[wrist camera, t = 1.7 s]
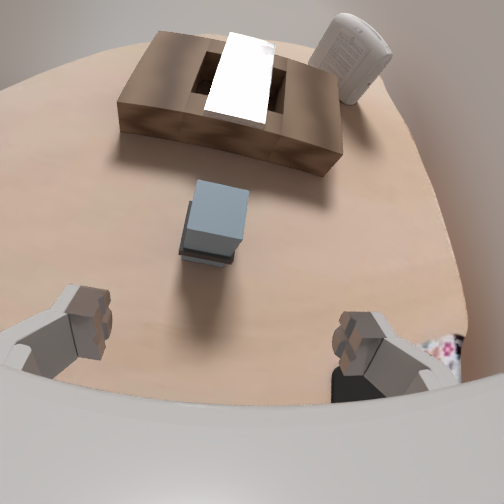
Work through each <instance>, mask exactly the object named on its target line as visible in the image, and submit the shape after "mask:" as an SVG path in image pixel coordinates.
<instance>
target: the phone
mask: <svg viewBox="0 0 504 504" xmlns="http://www.w3.org/2000/svg"><path fill="white" fill-rule="evenodd" d="M429 355H430V354H429ZM380 398H387V397H386V396H385V395H384V394H383V393H382V392H380V391H379V390H378V389H377V388H376V387H375V386H374V385H373V384H372V383H371V382H370V381H369V380H367V379H366V378H365V377H364V375H355V376H344V375H343V373H342V370H341V368H340V366H339V367H337V368H335V370H334V371H333V373H332V386H331V403H343V402H354V401H364V400H372V399H380Z"/></svg>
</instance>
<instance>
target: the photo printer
mask: <svg viewBox="0 0 504 504" xmlns="http://www.w3.org/2000/svg"><path fill="white" fill-rule="evenodd" d="M391 59H392V52H391V50H390V48H389V47H388V45H387V44H386V42H385V41H384V40H383V38H382V37H381V36H380V35H379V34H378V33H377V32H376V31H375V30H374V29H373V28H372V27H371V26H370V25H369V24H367V23H366V22H365V21H363V20H361V19H360V18H358V17H356V16H354V15H351V14H348V13H340V14H339V15H337V16H336V17H335V18H334V19H333V21H332V22H331V24H330V25H329V27H328V29H327V31H326V32H325V34H324V36H323V37H322V39H321V41H320V42H319V44H318V46H317V48H316V49H315V51H314V53H313V54H312V56H311V58H310V60H309V62H308V65H309V66H312V67H315V68H318V69H320V70H323V71H326V72H328V73H331V74H334V75H336V76H337V83H338V92H339V99H340V100H341V101H342V102H343V103H345V104H347V105H354V104H355V103H356V102H357V101H358V100H359V98H360V97H361V96H362V95H363V94H364V92H365V91H366V90H367V89H368V88H369V86H370V85H371V84H372V83H373V81H374V80H375V79H376V78H377V77H378V75H379V74H380V73H381V72H382V70H383V69H384V68H385V67H386V65H387V64H388V63H389V62H390V60H391Z"/></svg>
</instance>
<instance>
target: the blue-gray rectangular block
mask: <svg viewBox="0 0 504 504" xmlns="http://www.w3.org/2000/svg"><path fill="white" fill-rule="evenodd" d="M248 197H249V191H248V190H244V189H240V188H235V187H231V186H226V185H222V184H217V183H212V182H208V181H203V180H198V179H197V184H196V188H195V192H194V197H193V201H189V205H188V210H187V215H186V219H185V224H184V229H183V233H182V238H181V243H180V248H179V255H182V258H181V259H182V260H187V261H192V262H197V263H202V264H208V265H213V266H218V267H224V265H225V264H230V265H231V264H232V262H233V261H234V254H235V250H236V248H237V247H238V246H239V244H240V243H241V241H242V240H243V233H244V226H245V219H246V211H247V204H248Z"/></svg>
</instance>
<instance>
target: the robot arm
mask: <svg viewBox="0 0 504 504" xmlns="http://www.w3.org/2000/svg"><path fill="white" fill-rule="evenodd" d="M110 302H111V299H110V292H109V291H108V290H105V289H99V288H93V287H87V286H81V285H75V284H68V285H66V287H65V288H64V290H63V291H62V293H61V294H60V296H59V297H58V299H57V300H56V302H55V303H54V305H53V306H52V308H51V309H50V310H44V311H42V312H40V313H38V314H36V315H34V316H32V317H30V318H28V319H26V320H24V321H22V322H20V323H18V324H16V325H14V326H12V327H10V328H8V329H6V330H4V331H2V332H0V504H504V372H503V373H499V374H496V375H492V376H489V377H485V378H482V379H478V380H474V381H470V382H466V383H462V384H459V382H458V381H457V379H456V378H455V376H454V375H453V373H452V372H451V371H450V369H449V368H448V366H447V365H445V364H444V363H442V362H440V361H439V360H437V359H435V358H434V357H432V356H431V355H429V354H427V353H426V352H424V351H423V350H421V349H419V348H418V347H416V346H414V345H413V344H411V343H410V342H408V341H406V340H405V339H403V338H398V336H397V335H396V333H395V332H394V330H393V329H392V327H391V326H390V324H389V323H388V321H387V320H386V318H385V317H384V315H383V314H382V313H381V312H347V311H344V312H343V313H342V314H341V316H340V319H339V322H340V326H339V327H338V328H337V329H336V330H335V332H334V334H333V337H332V348H333V351H334V354H335V355H336V356H338V357H339V358H340V360H339V366H340V368H341V370H342V373H343V375H344V376H355V375H364V377H365V378H366V379H367V380H369V381H370V382H371V383H372V384H373V385H374V386H375V387H376V388H377V389H378V390H379V391H380V392H382V393H383V394H384V395H385V396H386V397H387V398H380V399H372V400H364V401H354V402H343V403H330V404H312V405H280V406H253V405H222V404H205V403H191V402H180V401H170V400H162V399H153V398H146V397H139V396H132V395H126V394H120V393H114V392H108V391H103V390H98V389H93V388H88V387H83V386H78V385H74V384H70V383H65V382H61V381H57V380H53V378H54V377H55V376H57V375H58V374H59V373H60V372H61V371H63V370H64V369H65V368H66V367H68V366H69V365H70V364H71V363H72V362H74V361H75V360H76V359H77V358H78V357H82V358H88V359H94V360H101V359H102V356H103V353H104V350H105V348H106V345H105V340H107V339H108V338H109V336H110V333H111V329H112V311H111V310H110V309H109V307H108V306H109V304H110Z"/></svg>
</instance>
